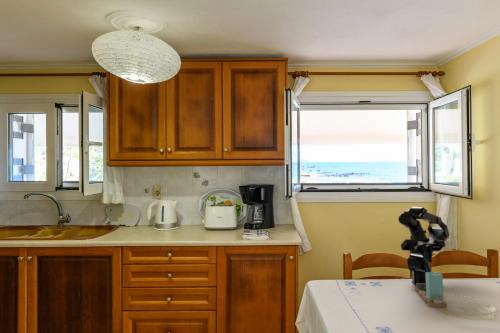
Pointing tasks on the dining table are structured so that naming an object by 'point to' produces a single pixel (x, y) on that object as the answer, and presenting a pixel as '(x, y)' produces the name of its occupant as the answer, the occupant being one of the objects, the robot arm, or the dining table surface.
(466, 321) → the dining table surface
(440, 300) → the cord board
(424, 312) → the dining table surface
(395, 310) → the dining table surface
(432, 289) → the teal rectangular block
